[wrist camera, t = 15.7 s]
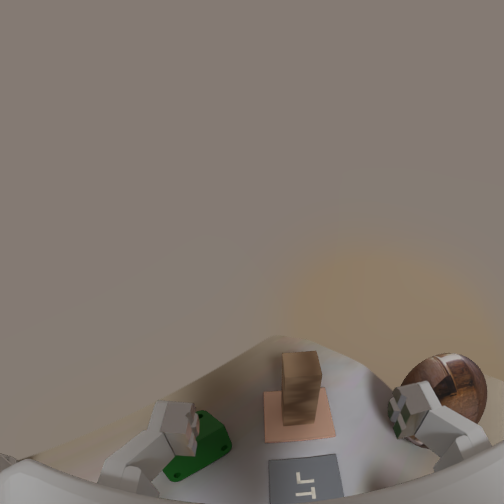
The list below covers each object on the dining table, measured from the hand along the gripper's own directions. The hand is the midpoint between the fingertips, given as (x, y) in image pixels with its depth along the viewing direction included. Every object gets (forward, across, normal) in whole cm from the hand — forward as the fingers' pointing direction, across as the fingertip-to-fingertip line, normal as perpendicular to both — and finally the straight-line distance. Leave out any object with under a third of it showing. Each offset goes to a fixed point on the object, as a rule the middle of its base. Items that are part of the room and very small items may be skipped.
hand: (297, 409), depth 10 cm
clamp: (+15, +13, +32) cm, 38 cm away
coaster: (+23, -4, +32) cm, 40 cm away
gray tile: (+9, -4, +32) cm, 33 cm away
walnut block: (+23, -4, +32) cm, 39 cm away
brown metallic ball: (+15, -25, +32) cm, 43 cm away
